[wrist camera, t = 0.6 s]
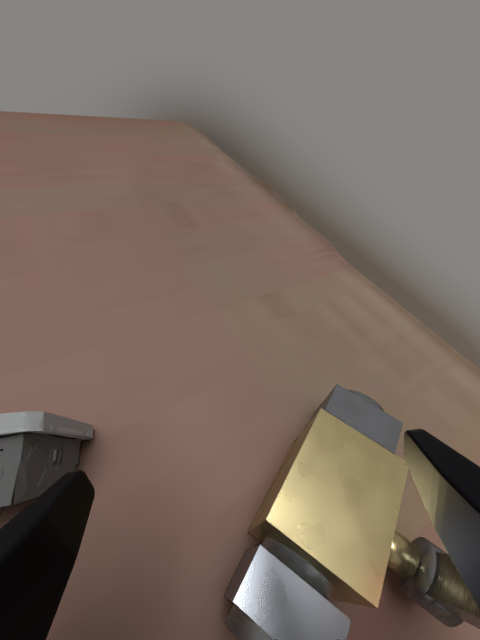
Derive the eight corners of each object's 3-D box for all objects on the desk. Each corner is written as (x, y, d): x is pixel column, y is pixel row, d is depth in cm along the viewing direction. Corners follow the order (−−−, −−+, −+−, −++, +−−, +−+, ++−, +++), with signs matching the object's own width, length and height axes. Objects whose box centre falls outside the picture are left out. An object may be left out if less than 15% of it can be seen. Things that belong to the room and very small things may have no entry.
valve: (343, 734, 14) (417, 813, 9) (209, 606, 16) (216, 620, 12) (406, 458, 23) (459, 431, 18) (314, 401, 25) (342, 364, 21)
